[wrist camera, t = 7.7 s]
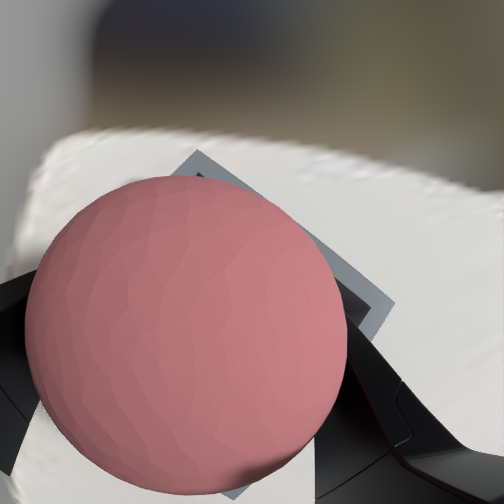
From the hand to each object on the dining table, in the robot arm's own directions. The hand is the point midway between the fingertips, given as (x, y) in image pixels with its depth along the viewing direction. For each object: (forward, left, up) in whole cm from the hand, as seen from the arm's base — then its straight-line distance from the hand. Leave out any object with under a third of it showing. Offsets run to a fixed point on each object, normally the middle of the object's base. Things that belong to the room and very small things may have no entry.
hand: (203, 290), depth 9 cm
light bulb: (-1, -1, -7) cm, 7 cm away
